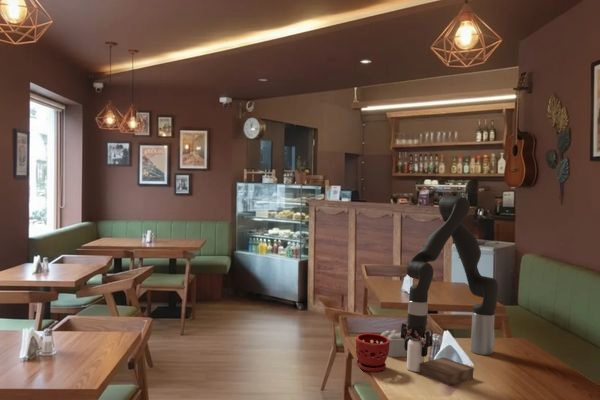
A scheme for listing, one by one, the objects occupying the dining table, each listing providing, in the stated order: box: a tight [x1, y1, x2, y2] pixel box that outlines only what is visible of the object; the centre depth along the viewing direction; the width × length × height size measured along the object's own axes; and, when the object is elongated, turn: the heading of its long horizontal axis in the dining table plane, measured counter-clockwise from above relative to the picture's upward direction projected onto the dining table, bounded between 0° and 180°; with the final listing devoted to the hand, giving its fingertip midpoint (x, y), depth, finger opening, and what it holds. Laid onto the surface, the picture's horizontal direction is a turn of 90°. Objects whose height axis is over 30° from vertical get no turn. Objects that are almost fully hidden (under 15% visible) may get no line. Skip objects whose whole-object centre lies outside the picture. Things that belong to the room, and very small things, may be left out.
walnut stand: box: [418, 356, 474, 386], centre depth 203 cm, size 14×14×4 cm
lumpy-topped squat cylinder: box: [380, 329, 407, 358], centre depth 230 cm, size 10×13×9 cm
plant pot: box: [355, 332, 390, 373], centre depth 208 cm, size 13×13×12 cm
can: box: [406, 337, 425, 373], centre depth 209 cm, size 6×6×12 cm
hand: (415, 353), depth 208 cm, fingers open, 8 cm apart
